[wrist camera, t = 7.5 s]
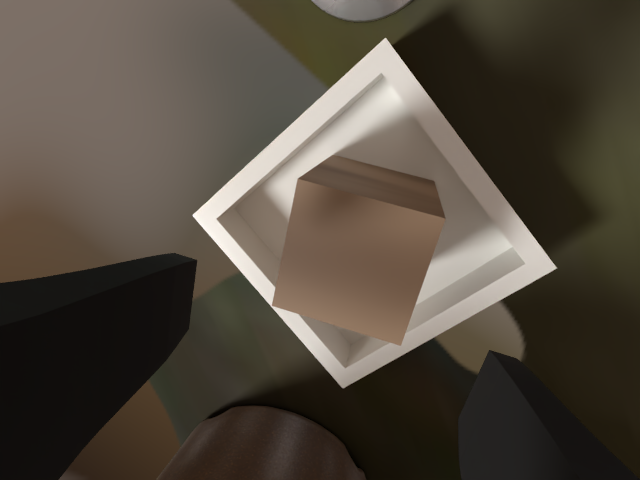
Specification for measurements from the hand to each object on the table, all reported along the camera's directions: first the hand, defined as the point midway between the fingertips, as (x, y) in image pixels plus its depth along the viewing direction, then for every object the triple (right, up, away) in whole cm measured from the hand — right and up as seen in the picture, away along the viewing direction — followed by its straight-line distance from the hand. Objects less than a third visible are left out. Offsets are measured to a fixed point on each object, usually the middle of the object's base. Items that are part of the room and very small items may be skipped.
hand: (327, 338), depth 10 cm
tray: (+2, +3, +9) cm, 10 cm away
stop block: (+2, +3, +9) cm, 10 cm away
